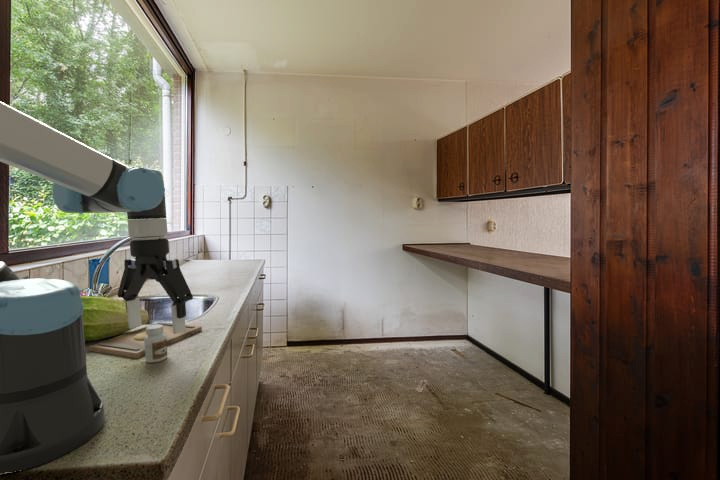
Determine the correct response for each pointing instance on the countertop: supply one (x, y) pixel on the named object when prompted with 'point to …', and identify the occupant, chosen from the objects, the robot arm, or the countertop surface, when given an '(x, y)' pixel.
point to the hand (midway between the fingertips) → (156, 329)
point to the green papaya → (106, 317)
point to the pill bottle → (155, 344)
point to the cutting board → (139, 341)
